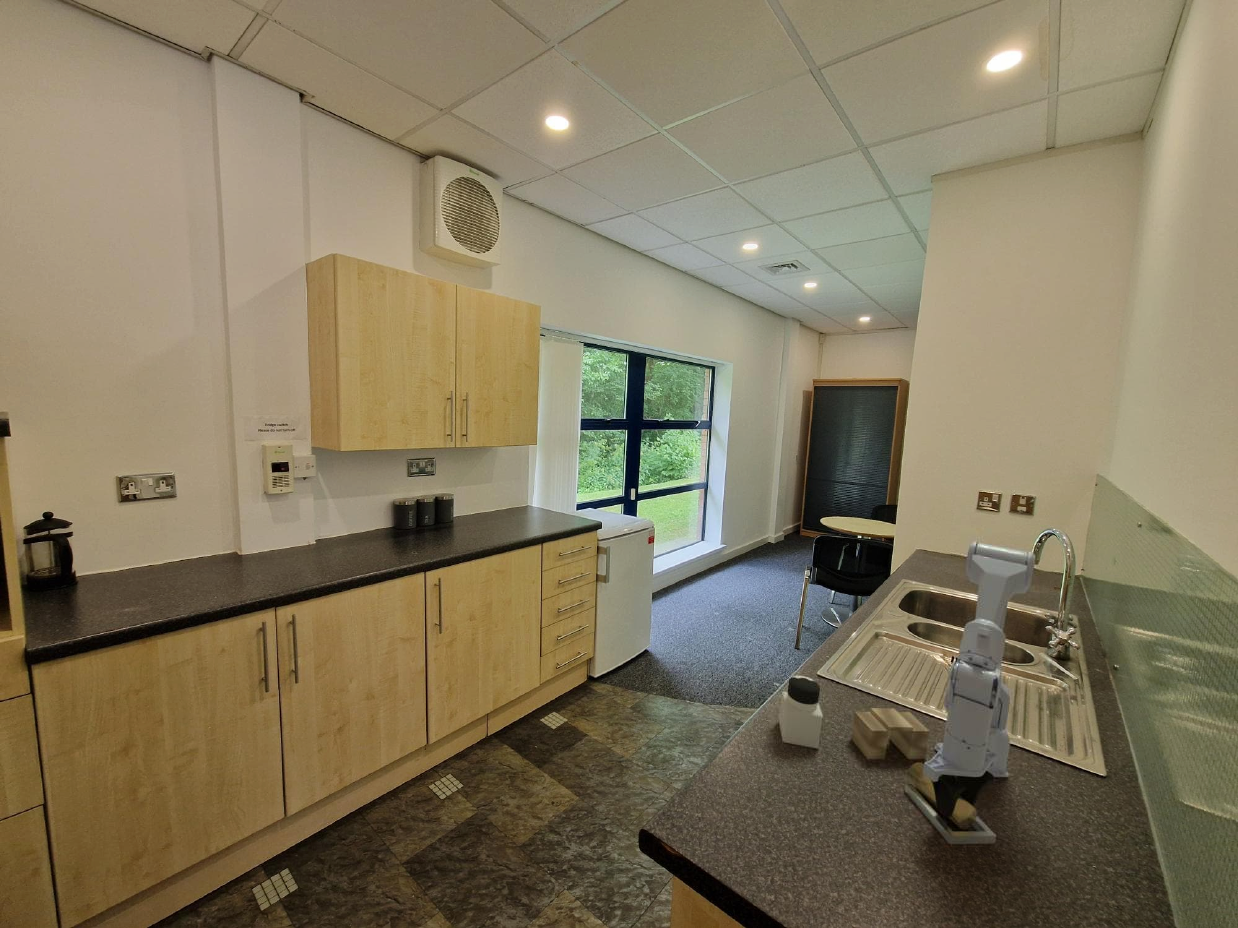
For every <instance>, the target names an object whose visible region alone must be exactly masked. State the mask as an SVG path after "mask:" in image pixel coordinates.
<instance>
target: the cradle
mask: <svg viewBox="0 0 1238 928" xmlns="http://www.w3.org/2000/svg"><path fill="white" fill-rule="evenodd" d="M904 792H905V793H906V794H907V795H908V797H909V798H910V799H911V800H912V802H913V803H914V804H915V805H916V807H917V808H918V809H919V810H920V811H921V812H922V813H923V814H924V816H925V817H926V818H927V820H929V822H930V823H931V824H932V825H933V826H934V828H935V829H936V831H938V832H939V833H940V835H941V836H942V837H943V839H945V841H946V842H947V843H948V844H949V845H974V844H975V845H977V844H978V845H979V844H980V845H981V844H985V845H986V844H987V845H989V844H990V845H991V844H996V841H997V839H996V838H997V834H995V833H994V832H993V830H991V829H990V827H988V826H987V825H986V824H985V822H984V821H982V819H981V818H980V817H979V816H978V815H977V817H976V820H975V822H974V823H973V824H972V825H971V826H972V827H973V828H974V829H975V830H976V831H953V830H952V829H951V828H950V827H949V826H948V824H946V822H945V821H944V820H943V819H942V818H941V817H940V816H939V814H938V813H937V812H936V811H935V809H934V808H933V807H932V806H931V805H930V804H929V803H928V802H927V801H926V800H925V798H924V797H923V796H922V795H921V794H920V793H919V792H920V791H919V790H918V789H917V788H916V787H915V786H913V785H912V784H911V783H905V786H904Z"/></svg>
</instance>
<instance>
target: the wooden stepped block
mask: <svg viewBox="0 0 1238 928" xmlns="http://www.w3.org/2000/svg"><path fill="white" fill-rule="evenodd" d="M889 732H890V733H889ZM889 734H890V735H889ZM929 735H930V730H929V729H928V728H927V727H925V725H924V724H922V722H920V721H919V720H918V719H917V718H916V717H915V716H914V715H913V714H912V713H911V712H909V711H904V712H903V711H897V710H896V709H895V708H892V707H891V708H888V707H887V708H883V707H882V708H881V707H879V708H878V707H877V708H876V707H873V708H870V711H854V715H853V722H852V729H851V736H850V737H851V740H852V741H853V742H854V744H855V745H856V746H857V748H858V749H859V750H860V751H861V753H863V755H864V756H865V757H866V759H867V760H885V759H886V752H887V745H888V738H889V740H890V741H891V742H892V743H893V744H894V745H895V746H896V747H897V748H898V749H899V750H900V752H902V754H903V755H904V756H905V757H906V758H907V759H908V760H926V756H927V751H928V744H929V738H930V736H929Z"/></svg>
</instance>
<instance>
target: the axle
mask: <svg viewBox="0 0 1238 928" xmlns="http://www.w3.org/2000/svg"><path fill="white" fill-rule="evenodd" d="M923 769H924V763H922V762H919V761H918V762H915V763H913V764H911V765H910V767H908V770H907V772H906V780H907V781H908V782H909V784H912V786H913V787H914V788H915V789H916V790H917V791H918V792H920V793H921V794H922V795H923V796H924V797H925V798H927V799H928V800H929V801H930V802H931V803H932V804H933V805H934V806H935V807H937V805H936V798H935V792H934V787H933V784H932V781H931V779H929V778H928V777H927V776H926V775H925V774H923ZM977 811H978V810H977V808H975V806H974V807H973V806H972V805H971V804H969V803H968V802H967V801H966V800H965V799H963V798H962V797H961V796H959V798H958V800H957V802H956V805H955V809H954V812H953V814H952V816H951V817H948V819H950V821H952V822H953V823H954V824H955V825H956V826H957V827H959V829H962V830H966V829H969V828H970V827H971V826H972V824H973V823H974V822H975V820H976V817H977V816H978V812H977Z"/></svg>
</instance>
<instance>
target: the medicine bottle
mask: <svg viewBox="0 0 1238 928" xmlns="http://www.w3.org/2000/svg"><path fill="white" fill-rule="evenodd" d="M820 692H821V688H820V685H819V684H818V682H817V681H815V680H814V679H812V678H810V677H807V676H804V675H793V676H791V677H789V679H788V685H787V691H782V692H781V698H780V707H779V714H778V715H779V716H778V723H779V728H780V729H779V730H780V735H781V739H782V742H783V743H787V744H791V745H796V746H801V747H806V748H813V749H817V750H819V749H820V746H821V738H822V732H823V731H822V729H823V722H824V715H823V712H822V710H821V706H820V703H819V701H820Z"/></svg>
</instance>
